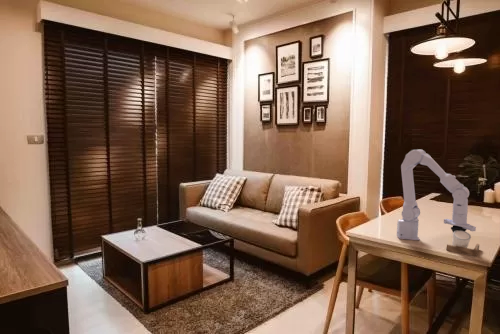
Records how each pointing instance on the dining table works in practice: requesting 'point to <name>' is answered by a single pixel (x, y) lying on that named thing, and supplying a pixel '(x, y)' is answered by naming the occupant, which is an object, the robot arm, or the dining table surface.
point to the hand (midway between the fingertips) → (457, 242)
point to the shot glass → (461, 238)
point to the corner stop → (463, 250)
